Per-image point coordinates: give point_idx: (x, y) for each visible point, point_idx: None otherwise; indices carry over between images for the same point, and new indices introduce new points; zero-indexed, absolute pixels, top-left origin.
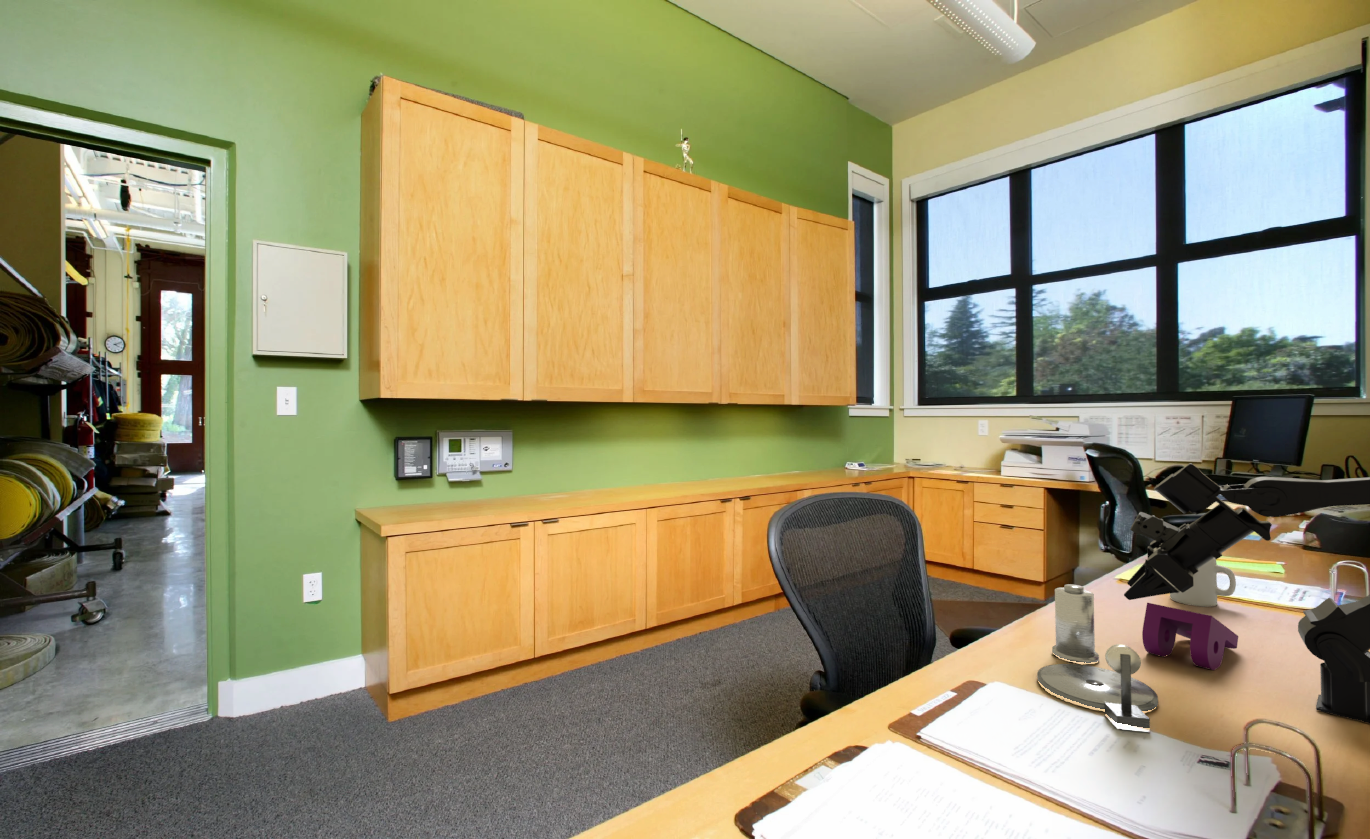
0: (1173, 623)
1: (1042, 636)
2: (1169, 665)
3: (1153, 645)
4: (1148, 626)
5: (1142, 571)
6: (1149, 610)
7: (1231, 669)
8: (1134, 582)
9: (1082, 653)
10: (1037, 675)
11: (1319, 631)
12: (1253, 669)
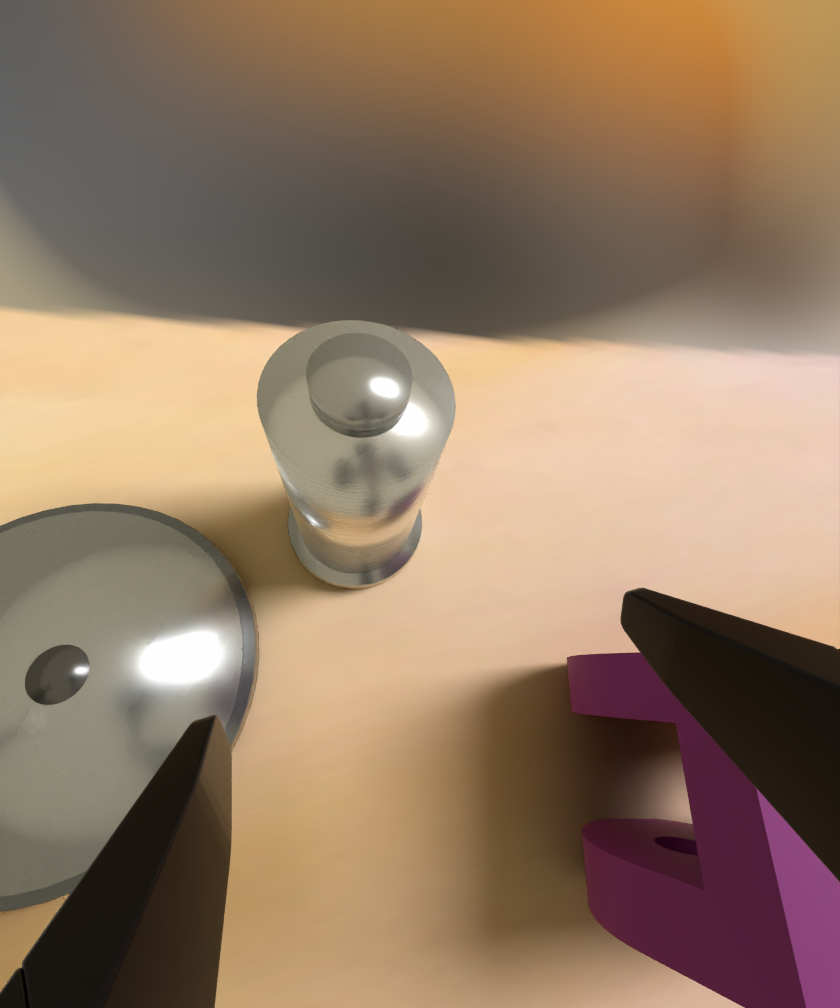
0: None
1: (457, 409)
2: (527, 753)
3: (570, 693)
4: (611, 674)
5: (782, 695)
6: None
7: None
8: (654, 637)
9: (310, 550)
10: (18, 519)
11: None
12: None
